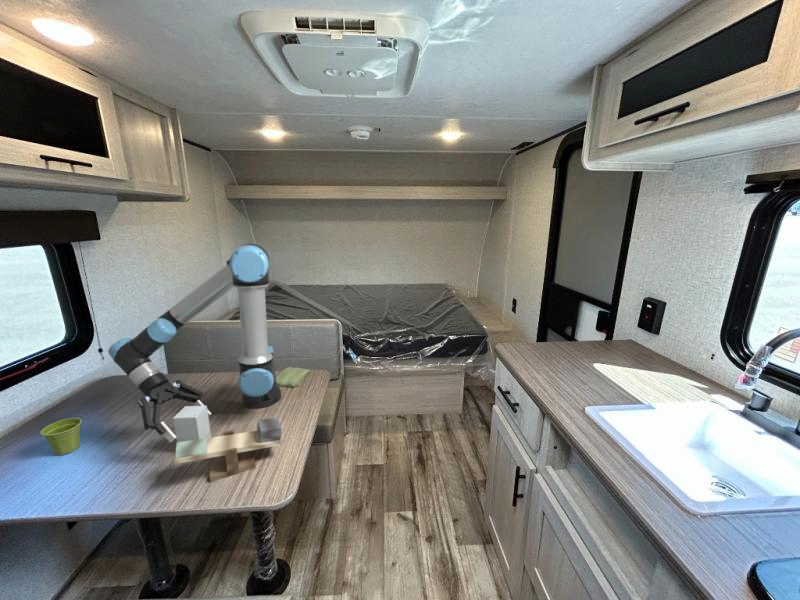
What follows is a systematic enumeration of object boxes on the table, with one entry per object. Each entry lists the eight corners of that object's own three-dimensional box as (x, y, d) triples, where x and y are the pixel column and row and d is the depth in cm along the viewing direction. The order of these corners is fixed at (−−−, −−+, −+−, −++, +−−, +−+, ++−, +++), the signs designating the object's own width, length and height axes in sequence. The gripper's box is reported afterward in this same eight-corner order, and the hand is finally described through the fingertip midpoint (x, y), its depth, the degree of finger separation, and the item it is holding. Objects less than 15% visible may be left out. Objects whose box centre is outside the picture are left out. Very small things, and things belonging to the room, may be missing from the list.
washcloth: (311, 372, 169) (311, 366, 169) (297, 389, 152) (296, 382, 152) (286, 371, 171) (286, 365, 170) (269, 387, 154) (268, 381, 153)
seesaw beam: (275, 431, 114) (276, 416, 113) (280, 445, 107) (281, 429, 107) (175, 447, 100) (176, 430, 99) (174, 464, 93) (174, 445, 92)
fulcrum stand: (250, 447, 113) (248, 425, 111) (255, 467, 103) (253, 444, 101) (209, 459, 107) (206, 436, 105) (210, 482, 97) (207, 457, 96)
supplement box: (212, 438, 117) (207, 405, 114) (201, 452, 110) (196, 417, 107) (190, 438, 117) (185, 405, 114) (177, 453, 110) (171, 417, 107)
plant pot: (66, 460, 106) (60, 435, 104) (38, 458, 106) (31, 434, 105) (94, 441, 115) (89, 418, 113) (68, 440, 116) (62, 417, 114)
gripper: (177, 370, 125) (215, 413, 124) (103, 404, 101) (150, 457, 101) (187, 358, 122) (226, 402, 122) (113, 390, 99) (162, 445, 98)
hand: (192, 427), depth 111 cm, fingers open, 13 cm apart
